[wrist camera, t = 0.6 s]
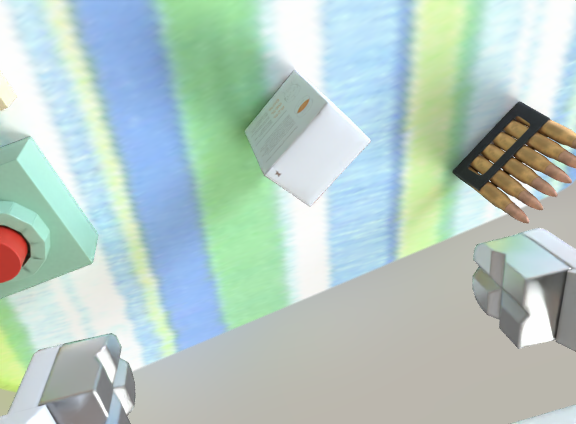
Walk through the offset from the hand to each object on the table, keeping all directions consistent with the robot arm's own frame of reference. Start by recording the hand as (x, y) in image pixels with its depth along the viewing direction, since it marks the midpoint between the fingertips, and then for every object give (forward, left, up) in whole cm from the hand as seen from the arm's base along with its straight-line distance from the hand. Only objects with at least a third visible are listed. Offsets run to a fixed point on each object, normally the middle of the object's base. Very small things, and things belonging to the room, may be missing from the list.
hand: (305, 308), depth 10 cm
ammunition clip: (+23, +27, -36) cm, 51 cm away
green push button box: (+10, -23, -36) cm, 43 cm away
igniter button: (+10, -23, -29) cm, 38 cm away
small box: (+11, +5, -36) cm, 38 cm away
